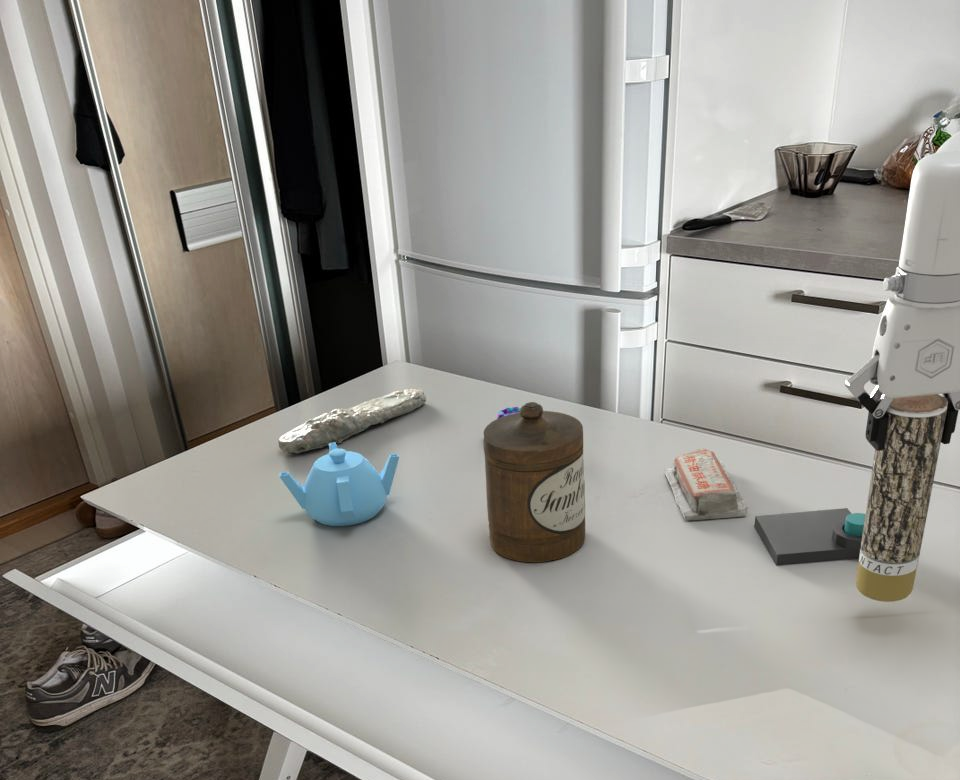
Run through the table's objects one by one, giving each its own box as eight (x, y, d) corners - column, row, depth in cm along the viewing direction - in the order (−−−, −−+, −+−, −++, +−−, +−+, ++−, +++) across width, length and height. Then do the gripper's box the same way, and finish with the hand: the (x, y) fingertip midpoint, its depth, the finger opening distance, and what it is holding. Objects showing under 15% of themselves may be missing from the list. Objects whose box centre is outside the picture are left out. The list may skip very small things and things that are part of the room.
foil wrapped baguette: (439, 412, 202) (409, 404, 209) (436, 386, 200) (406, 379, 206) (298, 460, 183) (269, 450, 189) (293, 433, 180) (264, 423, 186)
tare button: (865, 524, 141) (867, 511, 140) (874, 536, 138) (876, 523, 137) (840, 526, 141) (842, 513, 140) (849, 538, 138) (851, 525, 137)
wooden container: (560, 571, 143) (555, 429, 131) (473, 552, 150) (460, 416, 137) (601, 526, 154) (599, 391, 141) (517, 510, 160) (509, 380, 148)
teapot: (282, 520, 164) (269, 461, 158) (339, 484, 174) (329, 427, 168) (353, 539, 157) (342, 477, 150) (408, 500, 167) (400, 441, 161)
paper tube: (872, 570, 128) (901, 385, 114) (922, 587, 123) (959, 398, 109) (844, 592, 124) (870, 404, 110) (894, 610, 120) (929, 418, 106)
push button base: (853, 518, 149) (857, 497, 147) (885, 559, 139) (889, 538, 137) (754, 526, 150) (755, 506, 148) (777, 568, 139) (780, 547, 137)
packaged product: (750, 489, 149) (685, 495, 150) (748, 518, 152) (684, 523, 152) (723, 442, 164) (664, 447, 164) (722, 469, 167) (663, 474, 167)
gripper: (864, 303, 99) (843, 464, 110) (1036, 285, 99) (999, 448, 109) (839, 283, 106) (821, 437, 116) (1001, 266, 105) (969, 422, 115)
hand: (908, 441), depth 112 cm, fingers closed on paper tube, 6 cm apart
